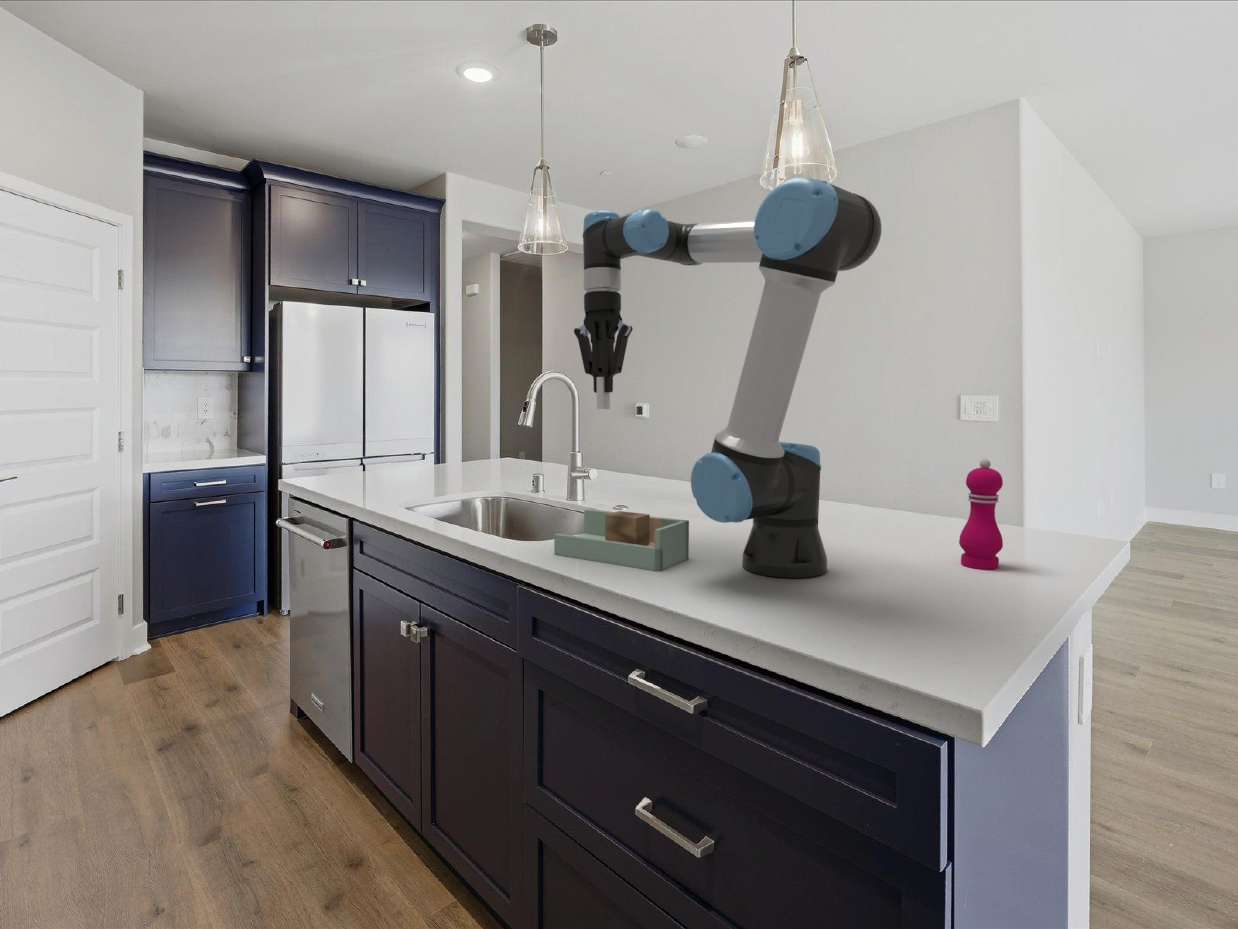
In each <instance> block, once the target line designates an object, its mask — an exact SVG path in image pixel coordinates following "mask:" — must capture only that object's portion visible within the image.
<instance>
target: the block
mask: <svg viewBox="0 0 1238 929" xmlns="http://www.w3.org/2000/svg"><path fill="white" fill-rule="evenodd" d="M613 512H614V513H610V514H606V515H605V540H608V541H615V542H622V543H629V544H636V545H643V546H647V545H649V516H650V514H648V513H640V512H631V511H629V512H628V511H621V510H618V511H613Z"/></svg>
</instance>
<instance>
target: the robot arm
mask: <svg viewBox="0 0 1238 929" xmlns="http://www.w3.org/2000/svg"><path fill="white" fill-rule="evenodd" d="M881 236H882V220H881V217H880V214H879V212H878V210H877V209H876V207H875V205H874V204H873V203H872V202H871V201H870V200H869V199H867V198H865V197H864V196H862V195H860V194H857V193H855V192H850V191H848V190H846V189H844V188H841V187H838V186H836V185H835V184H832V183H829V182H828V181H827V180H826V181H825V180H821V179H818V178H817V179H815V178H813V177H812V178H811V177H806V176H805V177H804V176H801V177H800V176H799V177H797V176H796V177H793V178H790V179H787V180H784V181H783V182H781V183H780V184H778V185H777V186H776V187H775V188H774V189H771V191H770V192H769V193H768V194H767V195H766V196H765V198H764V199H763V201H762V202H761V204H760V206H759V208H758V210H757V212H756V214H755V217H754V219H742V220H741V219H740V220H728V221H713V222H712V221H711V222H699V223H679V222H675V221H671V220H667V219H666V218H665V216H664V215H662V214H661V212H660V211H659V210H656V209H654V208H652V209H651V208H648V209H645V210H643V209H640V210H637V211H634V212H633V213H630V214H627V215H624V216H620V215H619V214H618V213H617V212H616V211H612V210H598V211H597V210H595V211H590V212H588V213H587V214H586V215H585V216H584V217H583V231H582V241H583V243H582V246H583V248H582V249H583V250H582V251H583V290H584V291H585V294H583V309H584V310H583V311H584V314H585V317H584V319H583V324H582V325H581V326H579V327H577V328H576V327H575V328H574V329H573V333H574V335H575V336H576V339H577V342H578V346H579V350H580V355H581V361H582V364H583V369H584V373H585V374H586V375H589V376H592V378H593V392H594V393H596V410H610V409H611V399H610V398H611V395H610V394H611V393H613V391H614V387H613V386H614V377H615V376H616V375H619V374H621V373H622V371H623V366H624V360H625V356H626V351H627V347H628V346H627V345H628V341H629V340H628V339H629V337H630V335H631V334H632V331H633V326H632V325H630V324H629V325H628V324H626V323H624V322H623V317H622V316H621V310H622V295H621V293H620V291H621V288H622V287H621V284H622V282H621V281H622V280H621V279H622V278H621V275H622V274H621V272H622V269H621V268H622V266H621V260H622V259H625V258H626V259H627V258H631V257H636V256H638V257H643V258H649V259H655V260H660V261H667V262H672V263H677V264H680V265H683V266H700V265H702V264H704V263H707V264H711V263H712V264H714V263H715V264H719V263H723V264H724V263H729V264H730V263H731V264H732V263H759V266H758V269H759V271H760V273H761V275H762V276H763V278H764V285H763V289H762V292H761V297H760V300H759V305H758V308H757V312H756V316H755V319H754V320H755V321H754V323H753V328H752V331H751V335H750V339H749V343H748V347H747V349H746V350H747V351H746V354H745V358H744V362H743V366H742V369H741V373H740V377H739V380H738V385H737V388H736V392H735V396H734V401H733V404H732V407H731V411H730V415H729V419H728V423H727V426H726V427H725V428H724V429H722V430H720V431H719V432H717V433H716V434H715V436H714V440H713V444H712V447H711V451H710V452H708V453H705V454H704V455H702V456H701V457H700V458H698V459H697V460H696V461H695V463H694V465H693V468H692V470H691V474H690V488H691V493H692V496H693V498H694V499H695V501H696V504H697V506H698V507H699V509H700V511H702V513H703V514H704V515H705V516H706V517H708V518H709V519H711V520H713V521H714V522H715V521H716V522H718V523H724V524H726V523H734V524H735V523H743V521H747V520H752V527H751V529H750V533H749V534H748V538H747V540H746V543H745V545H744V546H745V547H744V550H743V552H742V561H741V562H742V563H741V564H742V565H741V566H742V567H743V569H745V570H747V571H748V572H751V573H754V574H757V575H762V576H767V577H768V576H769V577H775V578H786V579H787V578H789V579H790V578H791V579H792V578H793V579H802V578H812V577H813V578H814V577H818V576H821V575H825V574H826V573H827V571H828V557H827V554H826V550H825V547H824V543H823V541H822V537H821V533H820V530H819V511H820V507H819V506H820V490H821V488H820V487H821V486H820V484H821V470H822V465H821V453H820V450H819V449H818V448H817V447H815V446H814V445H809V444H802V443H792V442H786V441H780V437H781V433H782V429H783V426H784V422H785V419H786V415H787V412H788V408H789V405H790V403H791V402H790V401H791V399H792V395H793V391H794V389H795V384H796V381H797V377H798V375H799V370H800V367H801V363H802V361H803V357H804V354H805V350H806V346H807V342H808V339H809V336H810V332H811V329H812V326H813V323H814V318H815V315H816V312H817V308H818V305H819V302H820V298H821V295H822V294H823V292H824V291H826V290H827V289H829V288H830V287H832V286H834V285H835V283H836V280H837V276H838V274H839V272H844V271H849V270H850V271H851V270H852V269H855V268H858V267H860V266H862V265H863V264H864V263H865V262H867V261H868V260H869V259H870V258H871V256H873V255H874V253H875V251H876V250H877V248H878V245H879V244H880V240H881ZM617 332H618V333H617ZM616 333H617V335H616ZM589 335H590V338H589Z"/></svg>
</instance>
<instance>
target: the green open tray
mask: <svg viewBox="0 0 1238 929" xmlns="http://www.w3.org/2000/svg"><path fill="white" fill-rule="evenodd" d="M614 512H615V511H609V510H607V511H605V510H599V509H592V508H591V509H589V508H586V509H584V514H583V515H584V519H583V520H584V526H583V527H584V531H583V532H584V533H581V534H578V535H572V534H565V533H564V534H563V533H555V534H554V536H553V537H554V538H553V540H554V542H553V544H554V545H553V546H554V549H553V550H554V553H553V554H554V555H556V556H561V557H562V556H563V557H569V558H574V559H575V558H576V559H581V560H588V561H592V562H593V561H594V562H601V563H606V564H611V565H612V564H613V565H619V566H626V567H631V568H636V569H642V570H643V569H644V570H650V571H655V572H661V571H663V570H665V569H668V568H670V567H672V566H675V565H677V564H679V563H680V564H681V563H682V562H684V561H686V560H689V554H690V552H689V550H690V544H689V543H690V540H689V539H690V520H689V519H688V520H687V519H686V520H685V519H678V518H677V519H676V518H671V517H669V518H668V517H663V516H662V517H660V516H652V515H651V516H649V545H647V546H643V545H636V544H629V543H622V542H615V541H608V540H605V515H606V514H610V513H614Z"/></svg>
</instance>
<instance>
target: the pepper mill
mask: <svg viewBox="0 0 1238 929" xmlns="http://www.w3.org/2000/svg"><path fill="white" fill-rule="evenodd" d="M1003 483H1004V482H1003V476H1002V474H1001V473H1000V472H999V471H997V470H996V469H993V468H991V461H990V460H989V459H987V458H985V459H981V460H980V462H979V467H977V468H974V469H972V470H971V471H969V472H968V474H967V475H966V478H965V485H966V488H968V489H969V491H970V492H968V494H967V495H968V498H967V500H968V502H969V503H970V510H969V514H968V515H969V516H968V519H967V521H966V523H965V525H963V526H964V527H963V528H962V530H961V531H960V532H961V533H960V535H959V540H958V544H959V546H960V547H961V549H962V550H963V552H964V553H961V555H960V565H962V566H964V567H967V568H971V569H977V570H986V571H987V570H996V569H998V568H999V564H1000V559H999V557H998V556H997V554H998V553H999V552H1001V551H1002V549H1003V546H1004V543H1003V542H1004V541H1003V536H1002V534H1001V531H1000V529H999V526H998V524H997V520H996V504H997V503H999V498H1000V495H999V494H997V493H998V492H999V491H1000V490H1001V489H1002V487H1003V485H1004V484H1003Z"/></svg>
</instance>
